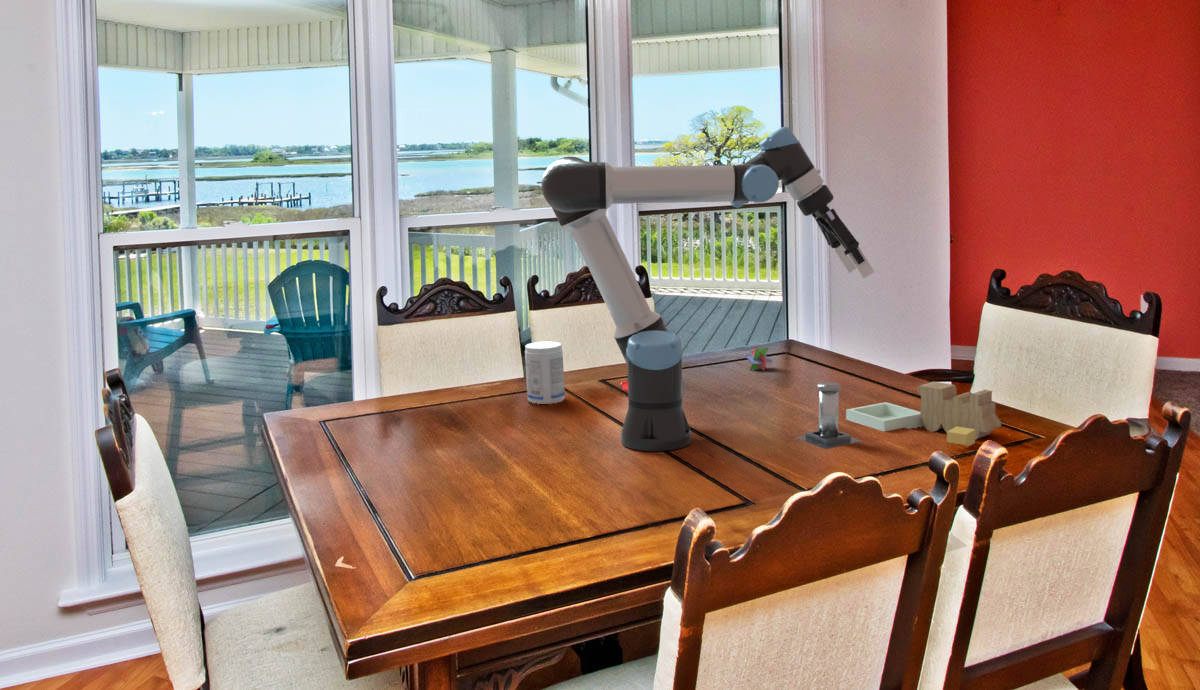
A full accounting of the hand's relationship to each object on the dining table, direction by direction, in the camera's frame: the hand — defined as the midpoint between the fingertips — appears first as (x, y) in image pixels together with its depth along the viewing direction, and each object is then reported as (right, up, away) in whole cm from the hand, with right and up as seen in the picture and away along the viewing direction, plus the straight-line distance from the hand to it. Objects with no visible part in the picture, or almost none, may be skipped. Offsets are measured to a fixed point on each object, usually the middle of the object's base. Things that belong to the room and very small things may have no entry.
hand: (861, 272), depth 226 cm
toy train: (+20, -35, -5) cm, 41 cm away
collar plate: (-10, -37, -10) cm, 39 cm away
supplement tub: (-72, -31, +33) cm, 85 cm away
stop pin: (-10, -36, -10) cm, 39 cm away
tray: (+6, -34, +3) cm, 35 cm away
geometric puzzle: (-13, -23, +62) cm, 68 cm away
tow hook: (-48, -28, +43) cm, 71 cm away
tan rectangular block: (+17, -37, -14) cm, 43 cm away
